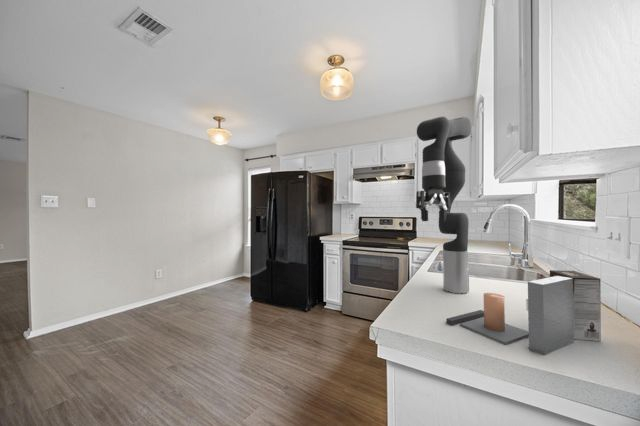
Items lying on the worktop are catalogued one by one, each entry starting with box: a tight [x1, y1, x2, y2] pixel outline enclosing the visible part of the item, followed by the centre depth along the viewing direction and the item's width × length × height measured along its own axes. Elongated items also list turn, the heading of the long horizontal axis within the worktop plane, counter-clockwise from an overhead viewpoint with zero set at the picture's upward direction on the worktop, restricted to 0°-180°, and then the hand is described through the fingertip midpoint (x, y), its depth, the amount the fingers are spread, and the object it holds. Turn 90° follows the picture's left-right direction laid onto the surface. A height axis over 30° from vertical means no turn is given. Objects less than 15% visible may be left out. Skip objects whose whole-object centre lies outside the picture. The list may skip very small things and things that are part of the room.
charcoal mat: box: [459, 317, 529, 346], centre depth 70 cm, size 12×12×1 cm
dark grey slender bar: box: [446, 309, 484, 327], centre depth 77 cm, size 16×2×2 cm, turn 115°
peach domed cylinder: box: [483, 292, 506, 332], centre depth 70 cm, size 5×5×9 cm
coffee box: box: [549, 269, 602, 342], centre depth 68 cm, size 9×6×16 cm
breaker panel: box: [525, 276, 575, 356], centre depth 62 cm, size 14×4×16 cm, turn 115°
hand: (433, 221), depth 88 cm, fingers open, 8 cm apart
